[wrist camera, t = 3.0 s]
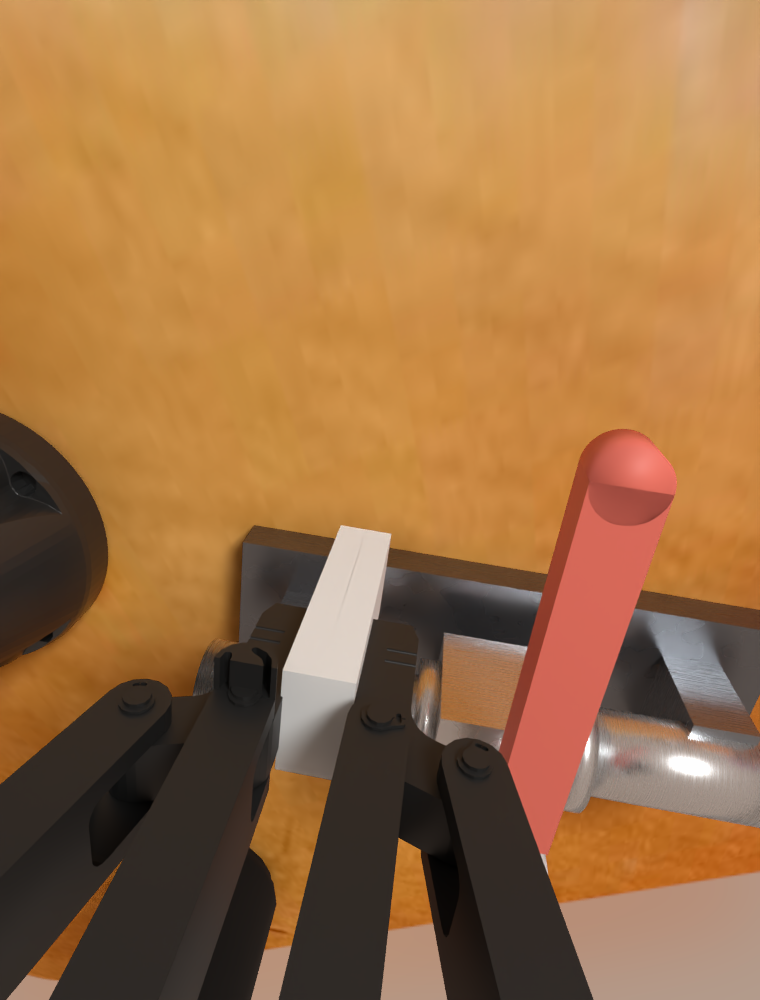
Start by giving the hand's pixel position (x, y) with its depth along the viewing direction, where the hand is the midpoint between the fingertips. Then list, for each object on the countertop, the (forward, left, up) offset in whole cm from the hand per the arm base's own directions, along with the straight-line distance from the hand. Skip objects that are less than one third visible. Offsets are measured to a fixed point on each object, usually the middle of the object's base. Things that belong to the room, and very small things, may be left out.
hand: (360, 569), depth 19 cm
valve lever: (+7, -4, -1) cm, 8 cm away
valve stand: (+7, -12, -14) cm, 20 cm away
